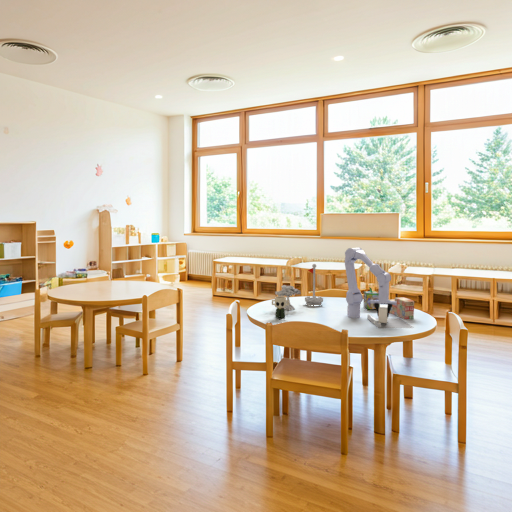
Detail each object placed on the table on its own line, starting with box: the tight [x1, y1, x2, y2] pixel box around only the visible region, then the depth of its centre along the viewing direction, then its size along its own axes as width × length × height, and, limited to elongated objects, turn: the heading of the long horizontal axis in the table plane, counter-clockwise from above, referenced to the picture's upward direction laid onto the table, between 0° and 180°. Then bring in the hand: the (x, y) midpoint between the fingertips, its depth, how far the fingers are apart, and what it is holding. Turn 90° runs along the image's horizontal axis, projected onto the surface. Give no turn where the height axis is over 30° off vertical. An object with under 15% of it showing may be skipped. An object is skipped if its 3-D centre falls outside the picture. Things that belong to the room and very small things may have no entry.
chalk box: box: [363, 286, 381, 310], centre depth 283 cm, size 9×9×15 cm
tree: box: [274, 284, 302, 311], centre depth 281 cm, size 18×16×17 cm
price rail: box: [366, 313, 382, 329], centre depth 239 cm, size 22×2×2 cm, turn 0°
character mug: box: [271, 295, 290, 319], centre depth 256 cm, size 11×7×13 cm, turn 83°
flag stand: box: [304, 263, 324, 307], centre depth 295 cm, size 13×13×30 cm
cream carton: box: [377, 304, 389, 323], centre depth 239 cm, size 5×11×8 cm, turn 159°
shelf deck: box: [373, 317, 414, 329], centre depth 239 cm, size 22×20×1 cm
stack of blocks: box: [389, 296, 415, 320], centre depth 259 cm, size 21×6×12 cm, turn 11°
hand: (383, 316), depth 239 cm, fingers closed on cream carton, 5 cm apart
